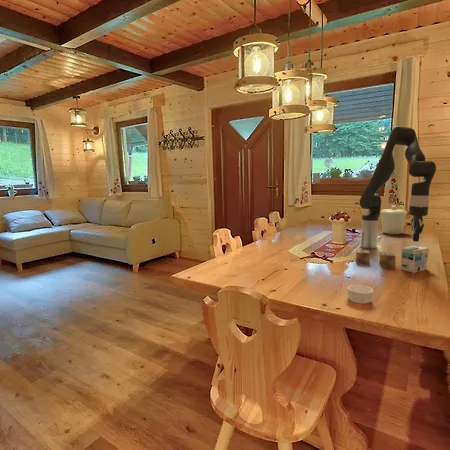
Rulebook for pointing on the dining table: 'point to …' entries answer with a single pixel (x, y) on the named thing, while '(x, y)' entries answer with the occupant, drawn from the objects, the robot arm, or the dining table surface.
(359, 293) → the ramekin
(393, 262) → the walnut block one
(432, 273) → the dining table surface
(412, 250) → the light bulb box
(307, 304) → the dining table surface
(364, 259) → the walnut block two
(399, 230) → the canister
